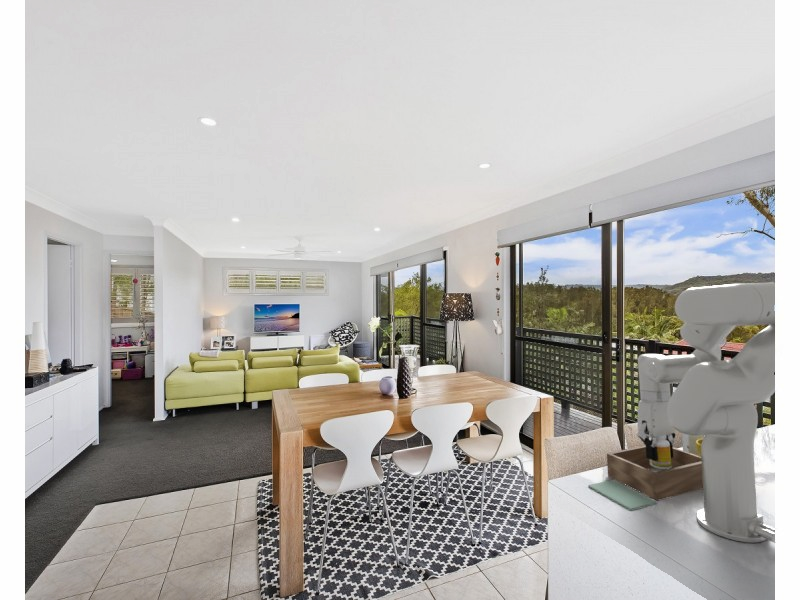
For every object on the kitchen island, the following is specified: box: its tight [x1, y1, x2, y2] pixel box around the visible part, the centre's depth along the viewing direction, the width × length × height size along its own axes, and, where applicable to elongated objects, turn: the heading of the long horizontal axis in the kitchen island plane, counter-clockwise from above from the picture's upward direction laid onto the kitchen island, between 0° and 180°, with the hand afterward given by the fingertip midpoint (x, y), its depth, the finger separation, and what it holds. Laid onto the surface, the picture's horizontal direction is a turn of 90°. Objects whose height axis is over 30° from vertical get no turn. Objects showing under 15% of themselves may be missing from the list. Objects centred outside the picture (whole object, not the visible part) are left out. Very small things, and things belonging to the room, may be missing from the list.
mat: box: [587, 479, 658, 511], centre depth 107 cm, size 14×9×1 cm, turn 18°
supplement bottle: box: [649, 435, 672, 470], centre depth 113 cm, size 5×5×10 cm
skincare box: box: [682, 433, 705, 456], centre depth 126 cm, size 6×4×12 cm
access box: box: [606, 445, 703, 502], centre depth 114 cm, size 16×22×7 cm
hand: (659, 457), depth 113 cm, fingers closed on supplement bottle, 5 cm apart
